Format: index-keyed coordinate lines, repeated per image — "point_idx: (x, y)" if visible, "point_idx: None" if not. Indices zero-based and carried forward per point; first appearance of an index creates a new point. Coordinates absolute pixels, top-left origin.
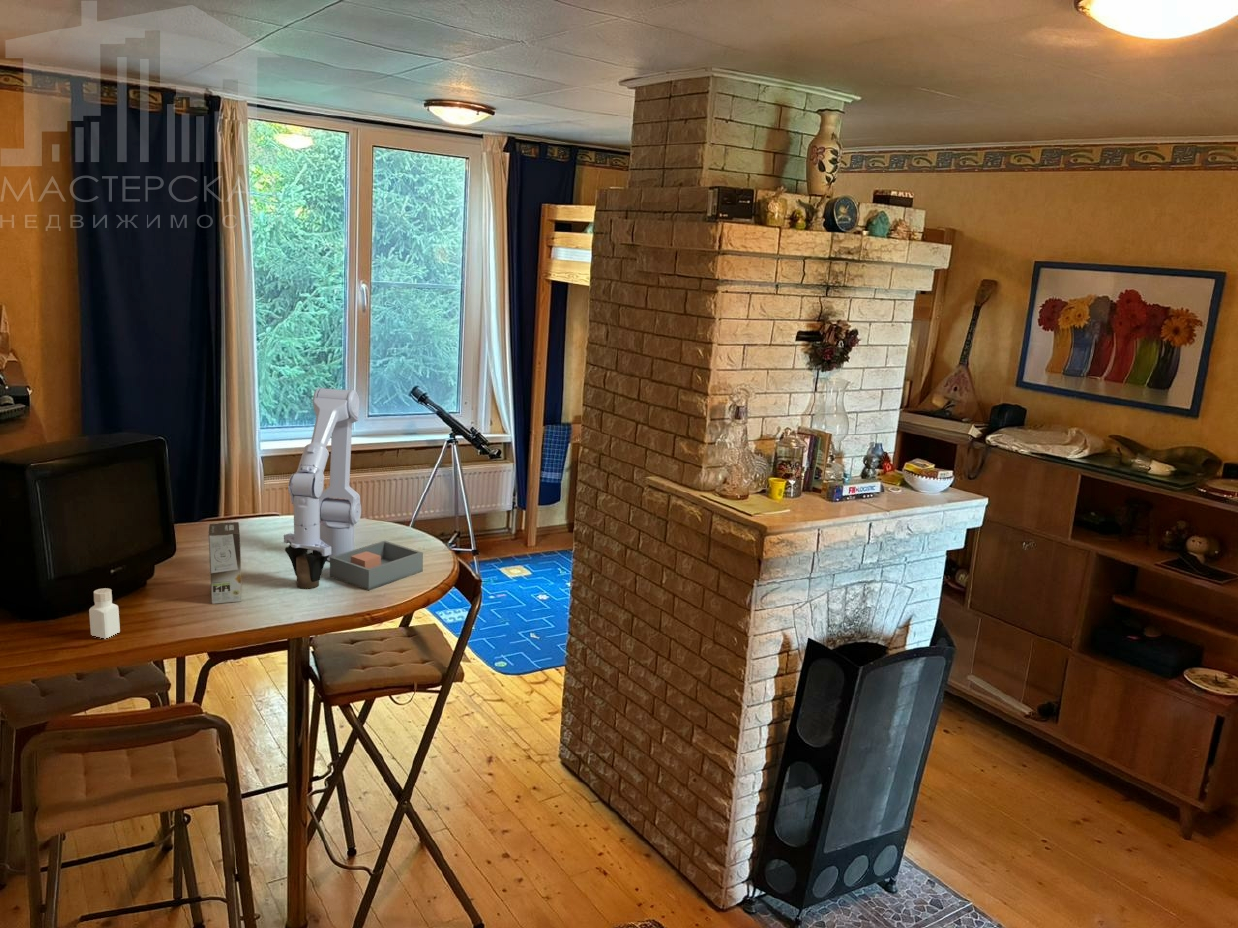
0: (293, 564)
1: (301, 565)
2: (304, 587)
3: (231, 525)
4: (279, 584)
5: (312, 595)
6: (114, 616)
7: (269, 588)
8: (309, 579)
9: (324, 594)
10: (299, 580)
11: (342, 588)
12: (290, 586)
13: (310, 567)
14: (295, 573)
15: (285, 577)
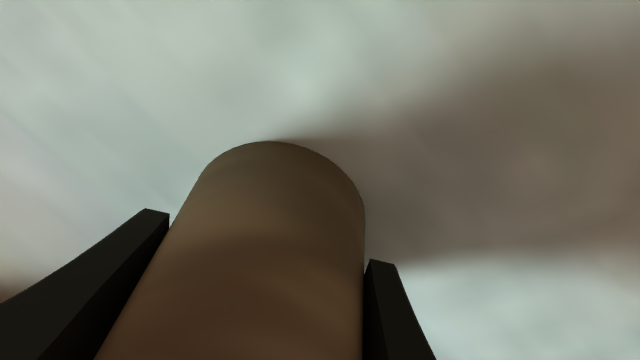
0: (410, 354)
1: (186, 321)
2: (235, 155)
3: None
4: (513, 143)
5: (69, 61)
6: None
7: (558, 12)
8: (176, 220)
9: (22, 125)
10: (272, 185)
11: (43, 262)
12: (390, 147)
13: (41, 311)
14: (389, 275)
15: (547, 275)
